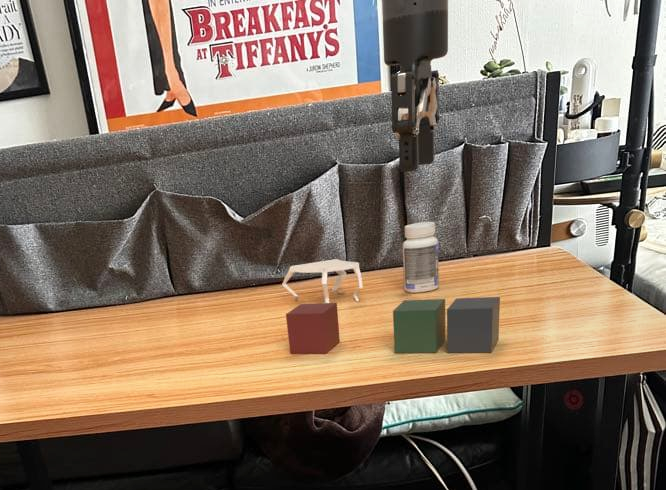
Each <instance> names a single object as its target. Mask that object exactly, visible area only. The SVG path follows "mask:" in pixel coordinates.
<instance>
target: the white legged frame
mask: <svg viewBox="0 0 666 490" xmlns="http://www.w3.org/2000/svg"><path fill="white" fill-rule="evenodd" d="M360 269H361V268H360V262H356V261H348V260H343V259H342V260H341V259H339V258H335V259H334V258H333V259H327V260H322V261H314V262H309V263H303V264H302V263H301V264H297V265H290V267H289V270H288V272H287V273H286V275H285V276H284V279H283V281H282V283H281V285H282V286H283V287H284V288H285V289H286V290H287V291H288V292H289V293H291V295H292V296H293V297H294V301H299V295H298V294H297V293H296V292H295V291H294V290H293V289H292V288H291V287H290V286H289V285H288V284H287V283H288V281H289V280H290V279H291V277H292V276H293V274H294V273H302V274H304V273H305V274H306V273H309V274H311V273H312V274H313V273H321V282H320V284H321V289H322V294H323V297H324V298H323V299H324V303H330V296H329V289H328V273H332V272H335V273H336V274H337V275H338V277H337V279H336V281H335V283H334V285H333V286H332V289H331V292H333V293H336V294H338V295H341V294H344V293H345V292H343V291H342V290H339V289H338V288H339V287H340V285H341V283H342V282H343V280H344V279H345V277H346V276H347V275H348V274H347V272H346V270H347V271H348V270H353V272H354V274H355V276H356V278H357V281H358V286H359V288H358V289H357V290H356V291H355V292H353V294H352V296H353V298H354V300H355V302H359V301H360V299H359V298H358V296H357V294H359V292H360V291H361V290H363V288H364V285H363V279H362V278H363V277H362V273H361V270H360Z"/></svg>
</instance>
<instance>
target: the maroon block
mask: <svg viewBox="0 0 666 490" xmlns="http://www.w3.org/2000/svg"><path fill="white" fill-rule="evenodd" d="M285 318H286V329H287V337H288V345H289V353H290V354H294V355H295V354H296V355H297V354H328V353H329V352H330V351H331V350H332V349H334V348H335V347H336V346H337V345H338V344H339V343H340V342H341V341H340V339H341V338H340V327H339V313H338V303H337V302H329V303H325V302H320V303H300V304H299V305H297V306H296V307H295V308H292V309H291V310H290V311H288V312H287V313H285Z"/></svg>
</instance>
